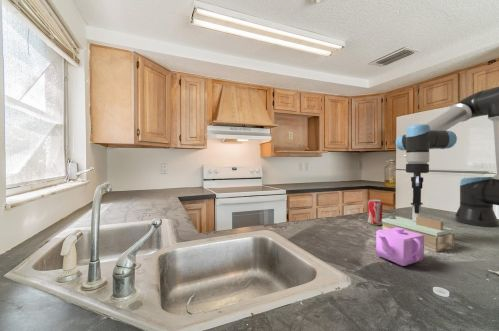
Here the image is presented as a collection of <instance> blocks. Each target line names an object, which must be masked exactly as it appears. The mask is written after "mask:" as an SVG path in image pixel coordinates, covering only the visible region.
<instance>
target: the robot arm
mask: <svg viewBox="0 0 499 331" xmlns="http://www.w3.org/2000/svg"><path fill="white" fill-rule="evenodd" d="M484 116H487V119H488V120H490V121H491V122H493V124H492V125H493V136H494V138H493V139H494V152H495V162H496V163H495V164H496V174H495V175H494V176H481V177H480V176H479V177H478V176H477V177H464V178H461V179H460V181H459V182H460V183H459V207H458V209H457V210H456V213H455V216H454V220H455V221H457V222H459V223H462V224H466V225H471V226H480V227H489V228H491V227H492V228H493V227H499V220H498V218H497V216H496V213H495V211H494V206H499V86H496V87H492V88H489V89H484V90H480V91H478V92H475V93H472V94H471V95H469V96H466V97H465V98H462V99H461V100H460V101H458V102H456V103H454V104H453V105H451V106H450V107H449V109H448V110H446V111H444V112H443V113H441V114H440V115H438V116H437V117H434V118H433V119H432V120H430V121H428V122H426V123H422V124H421V123H420V124H419V123H418V124H410V125H408V126H407V127H406V131H405V132H406V134H402V135H399V136H397V138H396V139H395V147H397V149H398V150H399V151H405V153H406V154H405V155H404V158H405V162H406V164H405V172H406V173H408V174H409V173H410V174H411V173H412V174H413V176H411V177H410V182H411V188H412V202H411V203H410V205H412V212H411V213H412V215H411V216H412V218H411V220H412V221H416V217H422V206H424V204H423V202H422V189H423V183H424V177H422V174H427V173H429V172H430V164H429V163H430V150H435V149H437V150H439V149H440V150H445V149H451V148H453V147H454V146H455V144H457V141H458V137H457V135H456V133H455V132H453V131H450V130H449V129H451V128H452V127H454V126H456V125H457V124H460V123H462V122H466V121H468V120H470V119H473V118H478V117H484Z"/></svg>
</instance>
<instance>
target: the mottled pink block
mask: <svg viewBox="0 0 499 331" xmlns="http://www.w3.org/2000/svg"><path fill="white" fill-rule="evenodd" d="M375 238H376V239H375V240H376V241H375V255H376V256H378V257H380V258H384V259H385V260H389V261H390V262H393V263H394V264H397V265H399V266H402V267H406V266H408V265H412V264H416V263H418V262H421V261H424V260H425V248H424V235H422V234H418V233H414V232H411V231H407V230H404V229H403V228H391V229H386V230H382V229H378V230H376V231H375Z"/></svg>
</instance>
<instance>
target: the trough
mask: <svg viewBox="0 0 499 331" xmlns="http://www.w3.org/2000/svg"><path fill="white" fill-rule="evenodd" d="M391 228H403V229H404V230H407V231H411V232H414V233H418V234H422V235H424V250H428V251H430V252H433V253H438V252H442V251H447V250H451V249H452V250H453V249H454V246H455V245H454V242H455V241H454V240H455V239H454V238H455V236H454V233H449V234H445V235H440V236H434V235H430V234H427V233H423V232H419V231H415V230H411V229H408V228H404V227H400V226H396V225H393V224H389V223H385V222H382V226H381V230H386V229H391Z"/></svg>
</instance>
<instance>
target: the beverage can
mask: <svg viewBox="0 0 499 331" xmlns="http://www.w3.org/2000/svg"><path fill="white" fill-rule="evenodd" d="M382 219H383V203H382V200H381V199H374V198H373V199H368V202H367V223H368V224H370V225H372V226H381V225H383V222H382Z"/></svg>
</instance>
